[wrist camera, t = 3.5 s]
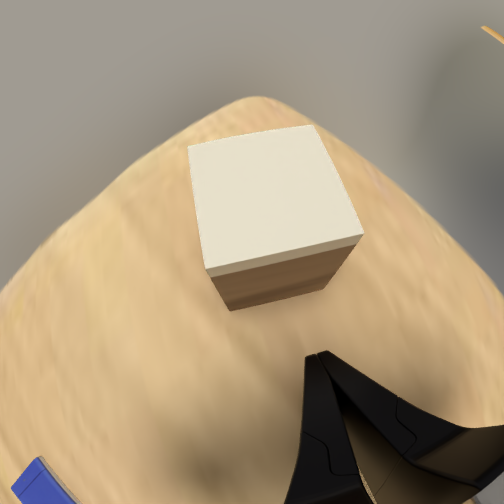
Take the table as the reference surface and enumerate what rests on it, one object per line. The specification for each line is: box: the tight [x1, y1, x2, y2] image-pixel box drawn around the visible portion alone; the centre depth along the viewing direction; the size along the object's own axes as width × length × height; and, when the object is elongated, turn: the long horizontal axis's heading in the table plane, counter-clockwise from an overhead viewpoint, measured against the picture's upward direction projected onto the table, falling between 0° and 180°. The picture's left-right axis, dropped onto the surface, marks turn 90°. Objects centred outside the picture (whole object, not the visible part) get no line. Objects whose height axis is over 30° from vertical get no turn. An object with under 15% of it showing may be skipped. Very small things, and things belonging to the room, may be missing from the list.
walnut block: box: [187, 125, 364, 311], centre depth 15 cm, size 6×6×8 cm
